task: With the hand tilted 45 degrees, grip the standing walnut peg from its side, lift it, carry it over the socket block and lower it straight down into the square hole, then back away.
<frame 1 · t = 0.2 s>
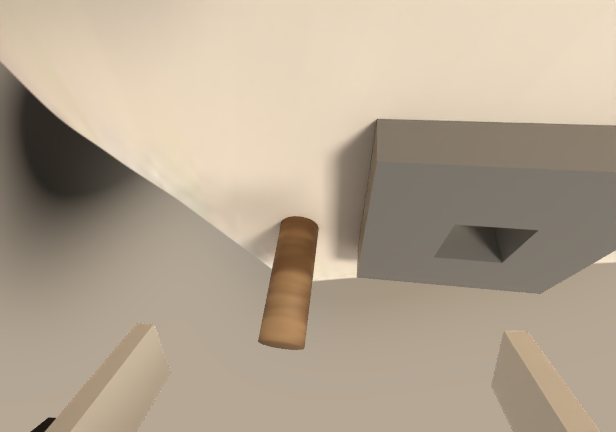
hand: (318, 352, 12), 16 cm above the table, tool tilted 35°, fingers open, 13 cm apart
socket: (473, 207, 29), on the table
peg: (299, 226, 36), on the table
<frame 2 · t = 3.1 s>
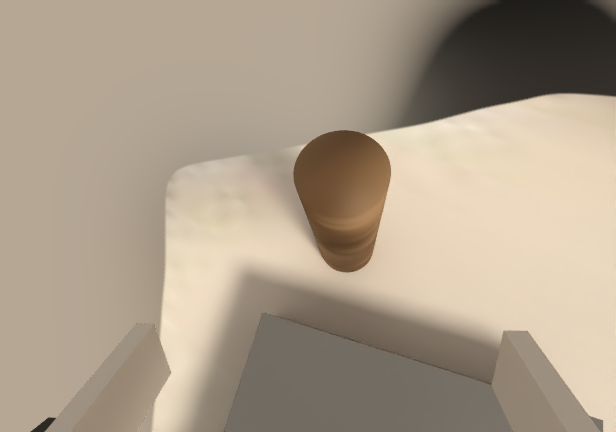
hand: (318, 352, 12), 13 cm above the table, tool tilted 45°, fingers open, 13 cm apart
peg: (346, 246, 26), on the table
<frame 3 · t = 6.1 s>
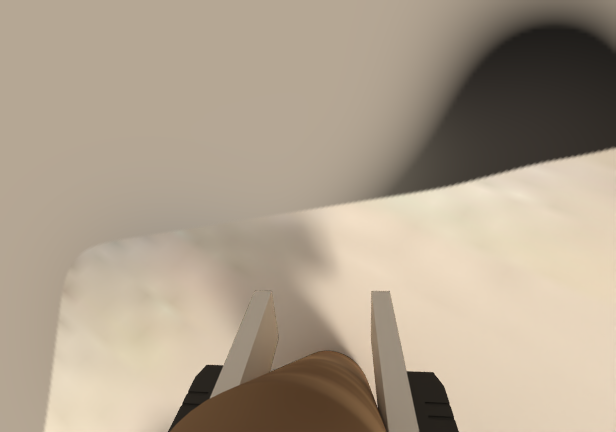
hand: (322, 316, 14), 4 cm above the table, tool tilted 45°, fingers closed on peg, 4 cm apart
peg: (328, 396, 16), on the table, touching gripper
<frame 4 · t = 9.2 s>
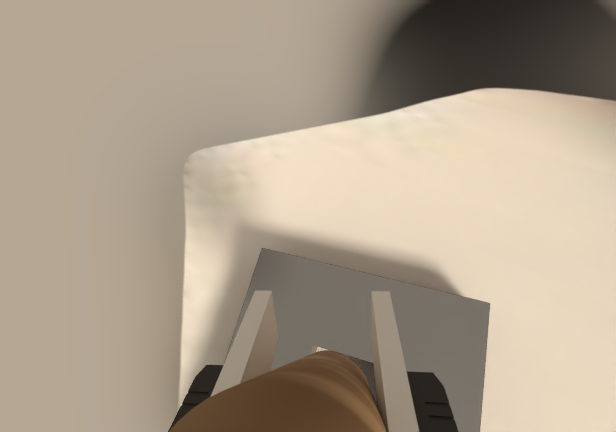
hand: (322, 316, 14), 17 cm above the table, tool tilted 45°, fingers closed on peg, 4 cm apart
socket: (342, 389, 28), on the table
peg: (328, 396, 16), point 13 cm above the table, touching gripper
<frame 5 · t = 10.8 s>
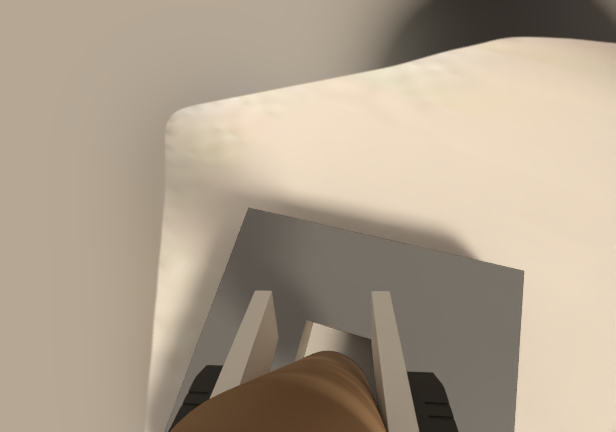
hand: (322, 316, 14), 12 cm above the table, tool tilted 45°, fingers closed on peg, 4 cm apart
socket: (341, 376, 23), on the table
peg: (328, 396, 16), point 8 cm above the table, touching gripper
when the fingers open (7 cm above the table, at t = 12.2 s): peg drops 2 cm, resting in socket.
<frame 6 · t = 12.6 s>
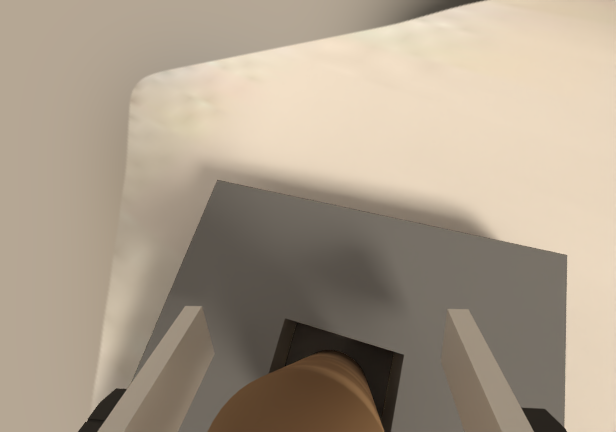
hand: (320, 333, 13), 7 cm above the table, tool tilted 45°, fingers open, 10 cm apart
socket: (331, 389, 19), on the table
peg: (331, 390, 19), resting in socket
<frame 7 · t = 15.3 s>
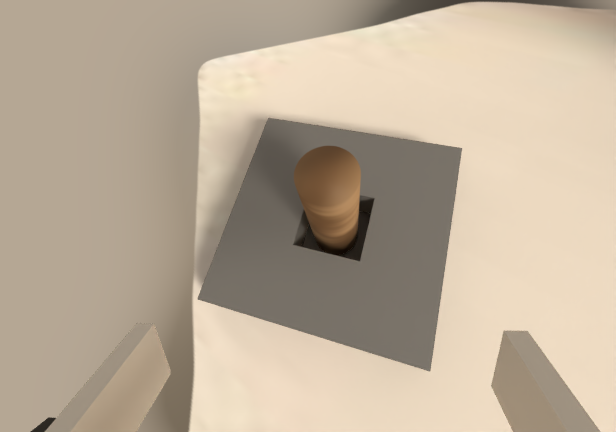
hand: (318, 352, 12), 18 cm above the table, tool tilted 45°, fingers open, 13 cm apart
socket: (336, 234, 32), on the table
peg: (336, 234, 32), resting in socket
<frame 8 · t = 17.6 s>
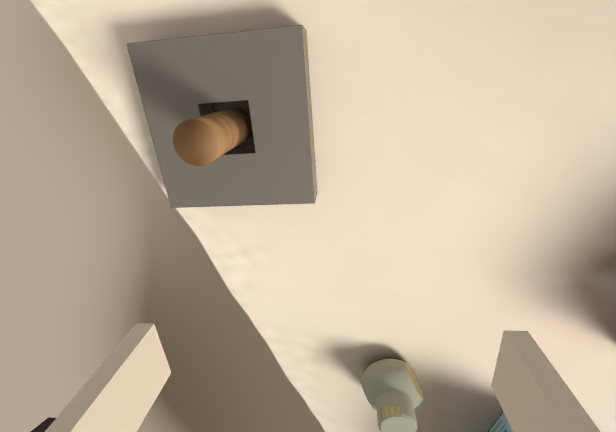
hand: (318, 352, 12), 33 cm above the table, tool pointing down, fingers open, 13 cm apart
socket: (237, 124, 41), on the table
air freshener: (389, 370, 57), on the table
peg: (237, 124, 41), resting in socket
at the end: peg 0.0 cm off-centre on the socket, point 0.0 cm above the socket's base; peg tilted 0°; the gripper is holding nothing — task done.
